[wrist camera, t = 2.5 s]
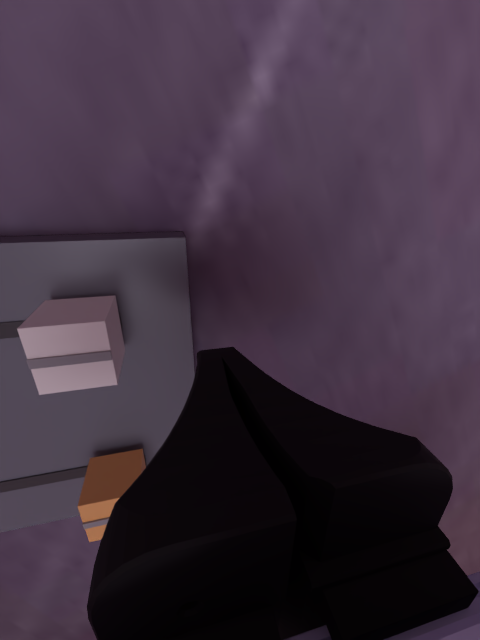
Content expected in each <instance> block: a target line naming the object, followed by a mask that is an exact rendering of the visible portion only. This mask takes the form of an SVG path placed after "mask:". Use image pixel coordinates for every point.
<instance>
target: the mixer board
mask: <svg viewBox="0 0 480 640" xmlns="http://www.w3.org/2000/svg"><path fill="white" fill-rule="evenodd" d="M114 295H115V296H116V302H117V307H118V313H119V318H120V324H121V330H122V335H123V341H124V347H125V353H124V358H123V362H122V367H121V372H120V376H119V381H118V385H112V386H104V387H96V388H89V389H81V390H73V391H66V392H58V393H51V394H43V395H39V392H38V389H37V386H36V383H35V380H34V377H33V375H32V372H31V369H29V367H28V364H27V361H26V360H27V357H26V354H25V351H24V348H23V345H22V342H21V339H20V336H19V333H18V330H17V328H18V327H19V326H20V325H21V324H22V323H23V322H24V321H25V320H26V319H27V318H28V317H29V316H30V315H31V314H32V313H33V312H34V311H35V310H36V309H37V308H38V307H39V306H40V305H41V304H42V303H43V302H44V301H45V300H56V299H71V298H85V297H99V296H114ZM194 377H195V371H194V356H193V341H192V327H191V312H190V298H189V283H188V268H187V254H186V239H185V235H184V233H183V232H148V233H111V234H75V235H38V236H2V237H0V533H1V532H6V531H11V530H15V529H20V528H25V527H29V526H34V525H38V524H43V523H48V522H52V521H57V520H62V519H66V518H71V517H76V516H80V513H79V510H78V507H77V506H78V503H79V499H80V495H81V491H82V487H83V483H84V479H85V475H86V472H87V468H88V464H89V460H90V458H93V457H99V456H104V455H110V454H116V453H121V452H127V451H133V450H138V449H143V453H144V459H145V465H146V467H147V465H148V464H149V463H150V461H151V460H152V458H153V457H154V456H155V454H156V453H157V452H158V450H159V449H160V448H161V446H162V445H163V443H164V442H165V440H166V439H167V437H168V435H169V434H170V432H171V430H172V428H173V427H174V425H175V423H176V422H177V420H178V418H179V416H180V414H181V412H182V410H183V408H184V405H185V403H186V401H187V398H188V396H189V393H190V390H191V388H192V385H193V381H194Z"/></svg>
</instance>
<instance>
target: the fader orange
mask: <svg viewBox="0 0 480 640" xmlns="http://www.w3.org/2000/svg"><path fill="white" fill-rule="evenodd" d="M145 468H146V465H145V459H144V453H143V449H138V450H133V451H127V452H121V453H116V454H110V455H104V456H99V457H93V458H90V460H89V464H88V468H87V472H86V475H85V479H84V483H83V487H82V491H81V495H80V499H79V503H78V506H77V507H78V510H79V513H80V515H81V518H82V521H83V528H84V529H85V530H86V533H87V536H88V539H89V542H92V541H97V540H101V539H102V537H103V534H104V531H105V528H106V525H107V522H108V520H109V517H110V515H111V512H112V510H113V507H114V505H115V503H116V502H117V500H118V499H119V498H120V497H121V496H122V495H123V494H124V493H125V491H126V490H127V489H128V488H129V487H130V486H131V485H132V483H133V482H134V481H135V480H136V479H137V478H138V477H139V475H140V474H141V473H142V472H143V470H144V469H145Z"/></svg>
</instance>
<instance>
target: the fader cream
mask: <svg viewBox="0 0 480 640" xmlns="http://www.w3.org/2000/svg"><path fill="white" fill-rule="evenodd" d="M17 330H18V333H19V336H20V339H21V342H22V345H23V348H24V351H25V354H26V357H27V360H26V361H27V364H28V367H29V369H31V372H32V375H33V377H34V380H35V383H36V386H37V389H38V392H39V395H43V394H51V393H58V392H66V391H73V390H81V389H89V388H96V387H104V386H112V385H118V381H119V376H120V372H121V367H122V362H123V358H124V353H125V347H124V341H123V335H122V330H121V324H120V318H119V313H118V307H117V302H116V296H115V295H114V296H99V297H85V298H71V299H56V300H45V301H44V302H43V303H42V304H41V305H40V306H39V307H38V308H37V309H36V310H35V311H34V312H33V313H32V314H31V315H30V316H29V317H28V318H27V319H26V320H25V321H24V322H23V323H22V324H21V325H20V326H19V327H18V328H17Z"/></svg>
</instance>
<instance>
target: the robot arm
mask: <svg viewBox="0 0 480 640" xmlns="http://www.w3.org/2000/svg"><path fill="white" fill-rule="evenodd" d="M452 490H453V483H452V475H451V474H450V472H449V470H448V469H447V468H446V467H445V466H444V465H443V464H442V463H441V462H440V461H439V460H438V459H437V458H436V457H435V456H434V455H433V454H432V453H431V452H430V451H429V450H428V449H427V448H426V447H425V446H424V445H423V444H422V443H421V442H420V441H419V440H418V439H417V438H415V437H412V436H408V435H404V434H401V433H397V432H393V431H390V430H386V429H382V428H379V427H375V426H372V425H369V424H366V423H363V422H360V421H358V420H355V419H352V418H349V417H346V416H344V415H341V414H339V413H336V412H334V411H332V410H329V409H327V408H325V407H323V406H320V405H318V404H316V403H314V402H312V401H310V400H308V399H306V398H304V397H302V396H300V395H299V394H297V393H295V392H293V391H291V390H290V389H288V388H286V387H285V386H283V385H282V384H280V383H279V382H277V381H276V380H274V379H273V378H271V377H270V376H269V375H267V374H266V373H264V372H263V371H262V370H260V369H259V368H258V367H257V366H255V365H254V364H253V363H252V362H250V361H249V360H248V359H247V358H246V357H244V356H243V355H242V354H241V353H240V352H239V351H237V350H236V349H235V348H234V347H227V348H219V349H210V350H201V351H199V352H198V353H197V369H196V374H195V377H194V381H193V385H192V388H191V390H190V393H189V396H188V398H187V401H186V403H185V405H184V408H183V410H182V412H181V414H180V416H179V418H178V420H177V422H176V423H175V425H174V427H173V428H172V430H171V432H170V434H169V435H168V437H167V439H166V440H165V442H164V443H163V445H162V446H161V448H160V449H159V450H158V452H157V453H156V454H155V456H154V457H153V458H152V460H151V461H150V463H149V464H148V465H147V467H146V468H145V469H144V470H143V472H142V473H141V474H140V475H139V477H138V478H137V479H136V480H135V481H134V482H133V483H132V485H131V486H130V487H129V488H128V489H127V490H126V491H125V493H124V494H123V495H122V496H121V497H120V498H119V499H118V500H117V502H116V503H115V505H114V507H113V510H112V512H111V515H110V517H109V520H108V522H107V525H106V528H105V531H104V534H103V537H102V540H101V543H100V546H99V550H98V553H97V557H96V561H95V564H94V569H93V575H92V581H91V587H90V592H89V598H88V604H87V611H88V619H89V622H90V624H91V626H92V629H93V631H94V633H95V636H96V638H97V640H480V572H477V573H474V574H471V575H468V576H467V575H466V574H465V573H464V571H463V570H462V569H461V568H460V566H459V565H458V564H457V562H456V561H455V560H454V559H453V557H452V556H451V555H450V553H449V552H448V551H447V550H446V549H449V547H450V542H449V539H448V538H447V537H446V536H445V534H444V533H443V532H442V531H441V530H440V528H439V527H438V524H439V521H440V519H441V517H442V515H443V513H444V511H445V508H446V506H447V504H448V502H449V500H450V497H451V493H452Z"/></svg>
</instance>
